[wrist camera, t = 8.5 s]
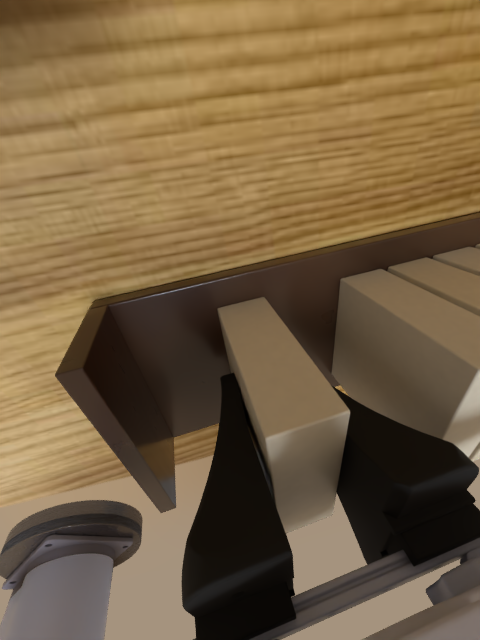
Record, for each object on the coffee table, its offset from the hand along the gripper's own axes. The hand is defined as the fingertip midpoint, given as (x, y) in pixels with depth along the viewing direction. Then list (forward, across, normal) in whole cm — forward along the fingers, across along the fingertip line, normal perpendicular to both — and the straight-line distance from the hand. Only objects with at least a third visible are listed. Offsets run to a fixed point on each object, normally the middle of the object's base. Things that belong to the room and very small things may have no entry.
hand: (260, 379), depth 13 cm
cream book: (+2, 0, 0) cm, 2 cm away
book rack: (+3, -7, 0) cm, 7 cm away
